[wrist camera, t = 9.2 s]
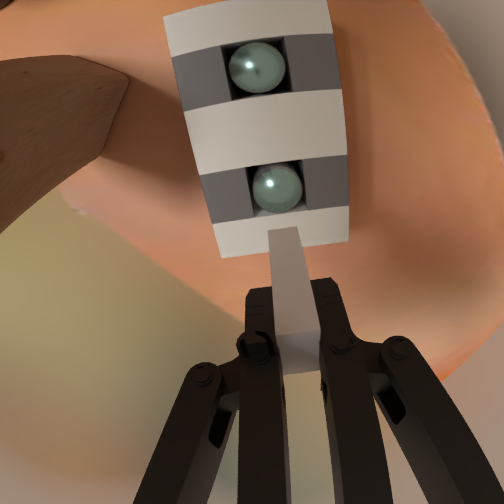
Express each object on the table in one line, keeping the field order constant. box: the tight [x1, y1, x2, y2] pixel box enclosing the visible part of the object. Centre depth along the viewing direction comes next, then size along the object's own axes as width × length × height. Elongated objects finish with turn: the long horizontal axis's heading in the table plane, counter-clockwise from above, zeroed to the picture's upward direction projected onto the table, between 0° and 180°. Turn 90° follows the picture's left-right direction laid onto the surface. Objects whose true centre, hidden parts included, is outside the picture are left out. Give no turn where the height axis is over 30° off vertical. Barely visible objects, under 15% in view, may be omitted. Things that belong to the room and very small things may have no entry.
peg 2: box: [253, 160, 302, 213], centre depth 26 cm, size 4×4×7 cm
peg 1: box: [229, 42, 285, 93], centre depth 20 cm, size 4×4×7 cm
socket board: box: [163, 0, 349, 258], centre depth 23 cm, size 22×12×7 cm, turn 10°
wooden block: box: [0, 55, 129, 234], centre depth 16 cm, size 10×10×20 cm
